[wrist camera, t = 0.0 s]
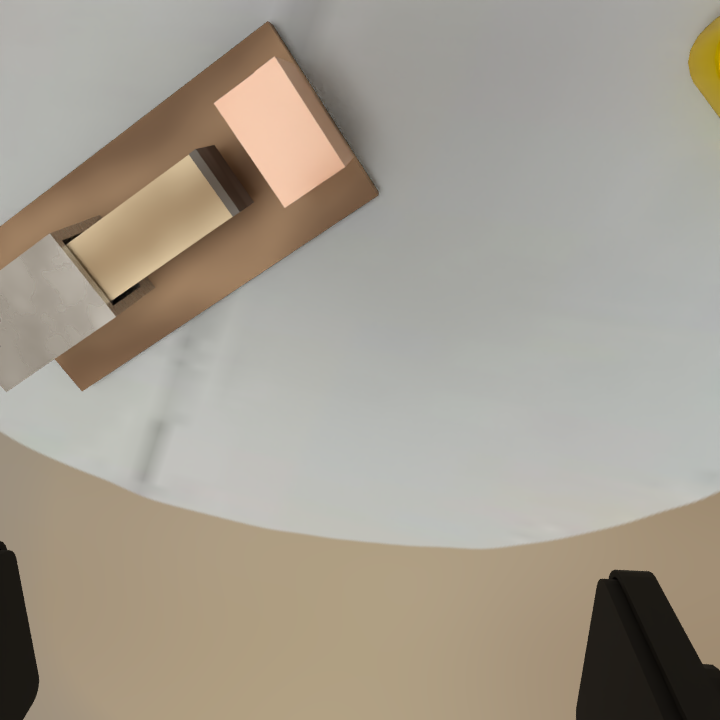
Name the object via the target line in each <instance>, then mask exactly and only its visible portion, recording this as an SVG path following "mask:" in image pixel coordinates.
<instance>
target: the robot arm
mask: <svg viewBox="0 0 720 720" xmlns="http://www.w3.org/2000/svg"><path fill="white" fill-rule="evenodd" d="M38 686H39V675H38V670H37V664H36V659H35V654H34V649H33V643H32V639H31V633H30V628H29V622H28V617H27V612H26V607H25V602H24V596H23V591H22V586H21V581H20V575H19V570H18V565H17V560H16V556H15V554H14V552H13V551H10V550H7V548H6V545H5V544H4V543H3V542H1V541H0V720H23V719H24V717H25V715H26V713H27V712H28V710H29V708H30V707H31V705H32V704H33V702H34V700H35V697H36V695H37V691H38ZM576 720H720V670H719V669H718V668H716V667H715V666H713V665H709V664H702V662H701V661H700V659H699V657H698V655H697V653H696V651H695V649H694V648H693V646H692V644H691V642H690V640H689V638H688V636H687V635H686V633H685V631H684V629H683V627H682V626H681V624H680V622H679V620H678V618H677V616H676V614H675V613H674V611H673V609H672V607H671V605H670V603H669V601H668V600H667V598H666V596H665V594H664V592H663V591H662V588H661V587H660V585H659V583H658V581H657V579H656V577H655V576H654V575H653V573H651V572H649V571H629V570H613V571H612V572H611V573H610V576H609V579H600V580H599V581H598V584H597V588H596V594H595V600H594V606H593V612H592V618H591V624H590V630H589V636H588V642H587V648H586V653H585V659H584V665H583V672H582V678H581V684H580V689H579V695H578V701H577V707H576Z"/></svg>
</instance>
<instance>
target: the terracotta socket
mask: <svg viewBox="0 0 720 720" xmlns="http://www.w3.org/2000/svg"><path fill="white" fill-rule="evenodd" d="M214 104H215V106H216V107H217V109H218V110H219V112H220V113H221V115H222V116H223V118H224V119H225V121H226V122H227V124H228V125H229V127H230V128H231V129H232V131H233V132H234V134H235V135H236V137H237V138H238V140H239V141H240V143H241V144H242V146H243V147H244V149H245V150H246V152H247V153H248V155H249V156H250V157H251V159H252V160H253V162H254V163H255V165H256V166H257V168H258V169H259V171H260V172H261V174H262V175H263V177H264V178H265V180H266V181H267V182H268V184H269V185H270V187H271V188H272V190H273V191H274V193H275V194H276V196H277V197H278V199H279V200H280V202H281V203H282V205H283V206H284V208H286V207H287V206H289V205H290V204H291V203H293V202H294V201H296V200H297V199H299V198H300V197H302V196H303V195H305V194H306V193H308V192H309V191H311V190H312V189H313V188H315V187H316V186H318V185H319V184H321V183H322V182H324V181H325V180H327V179H328V178H330V177H331V176H333V175H334V174H336V173H337V172H339V171H340V170H342V169H343V168H345V167H346V166H347V164H348V163H349V162H350V161H351V160H352V159H353V155H352V153H351V152H350V150H349V149H348V147H347V146H346V144H345V142H344V141H343V139H342V138H341V136H340V135H339V133H338V131H337V130H336V128H335V127H334V125H333V123H332V122H331V120H330V119H329V117H328V116H327V114H326V112H325V111H324V109H323V108H322V106H321V105H320V103H319V101H318V100H317V98H316V97H315V95H314V93H313V92H312V90H311V89H310V87H309V86H308V84H307V82H306V81H305V79H304V78H303V76H302V75H301V73H300V71H299V70H298V68H297V67H296V65H295V64H293V63H290V62H288V61H285V60H283V59H280V58H277V57H273V58H272V59H271V60H269V61H268V62H267V63H265V64H264V65H263V66H261V67H260V68H259V69H257V70H256V71H255V72H254V73H253V74H252V75H251V76H249V77H248V78H247V79H245V80H244V81H243V82H241V83H240V84H239V85H237V86H236V87H235V88H233V89H232V90H231V91H229V92H228V93H227V94H225V95H224V96H223V97H221V98H220V99H219V100H217V101H216V102H215V103H214Z"/></svg>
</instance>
